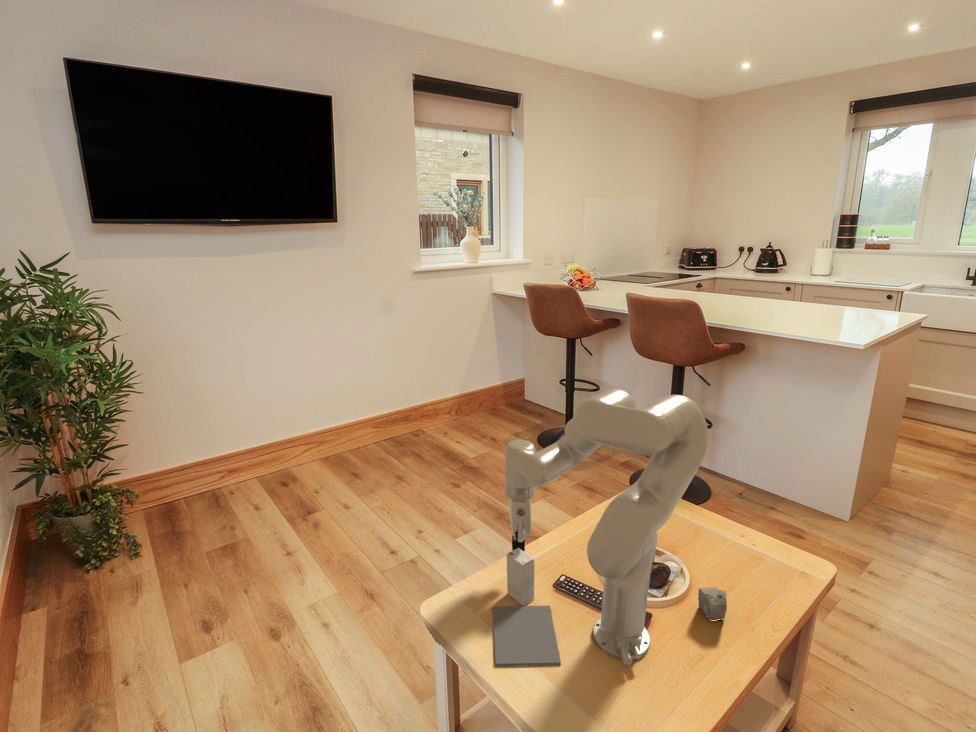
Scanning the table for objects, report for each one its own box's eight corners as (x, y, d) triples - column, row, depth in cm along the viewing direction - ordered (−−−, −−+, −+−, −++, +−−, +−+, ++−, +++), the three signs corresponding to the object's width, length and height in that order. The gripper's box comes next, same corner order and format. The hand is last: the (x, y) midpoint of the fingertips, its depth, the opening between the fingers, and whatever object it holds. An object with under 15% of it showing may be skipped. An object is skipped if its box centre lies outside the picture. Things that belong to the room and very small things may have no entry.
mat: (560, 664, 113) (560, 662, 112) (495, 666, 112) (495, 663, 112) (549, 607, 129) (549, 605, 129) (492, 608, 128) (493, 606, 128)
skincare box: (534, 599, 132) (536, 558, 128) (521, 607, 129) (523, 565, 125) (518, 586, 136) (519, 546, 133) (505, 593, 133) (506, 553, 130)
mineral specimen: (685, 605, 129) (695, 577, 127) (717, 609, 130) (727, 581, 128) (700, 627, 122) (711, 598, 120) (734, 631, 123) (745, 602, 121)
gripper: (537, 503, 126) (535, 568, 131) (531, 473, 140) (529, 533, 145) (506, 503, 125) (505, 569, 131) (503, 474, 140) (502, 533, 145)
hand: (518, 550), depth 138 cm, fingers closed
